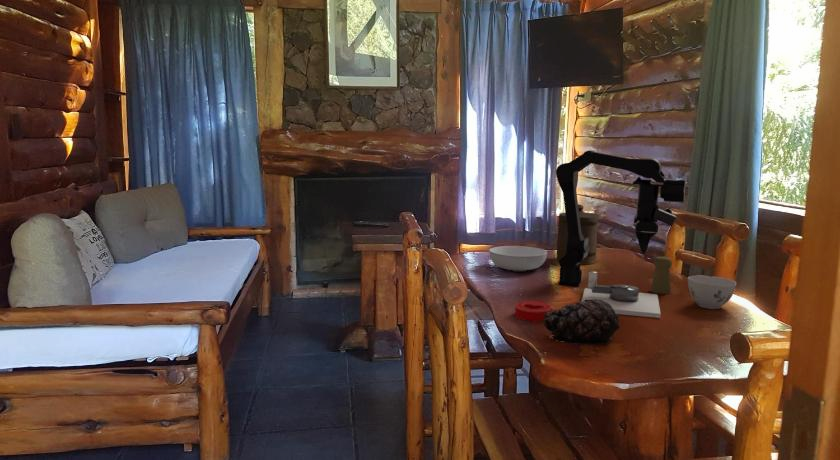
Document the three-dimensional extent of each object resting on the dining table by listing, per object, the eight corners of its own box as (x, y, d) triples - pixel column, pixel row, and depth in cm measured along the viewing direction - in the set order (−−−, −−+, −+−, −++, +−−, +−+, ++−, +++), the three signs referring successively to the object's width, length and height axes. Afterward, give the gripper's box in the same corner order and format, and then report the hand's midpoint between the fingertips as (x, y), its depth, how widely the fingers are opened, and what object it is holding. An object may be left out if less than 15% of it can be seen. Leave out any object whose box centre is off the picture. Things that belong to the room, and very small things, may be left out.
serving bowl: (554, 267, 223) (555, 249, 222) (533, 278, 206) (534, 258, 205) (503, 260, 234) (503, 243, 233) (478, 270, 217) (479, 251, 216)
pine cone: (538, 333, 150) (539, 293, 148) (609, 333, 150) (611, 294, 148) (547, 347, 139) (549, 305, 138) (624, 347, 140) (627, 306, 138)
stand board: (579, 310, 169) (580, 304, 169) (584, 291, 189) (585, 287, 188) (660, 318, 162) (660, 312, 162) (656, 298, 182) (657, 293, 182)
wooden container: (594, 258, 240) (597, 203, 237) (596, 266, 226) (599, 207, 222) (556, 256, 243) (558, 201, 240) (556, 263, 229) (558, 206, 226)
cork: (672, 294, 186) (675, 259, 185) (652, 293, 188) (654, 258, 186) (669, 289, 192) (671, 255, 190) (649, 288, 193) (651, 254, 192)
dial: (638, 295, 179) (639, 272, 178) (638, 302, 171) (640, 278, 170) (588, 291, 183) (589, 268, 182) (586, 298, 176) (588, 274, 175)
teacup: (743, 312, 168) (745, 284, 166) (699, 313, 167) (701, 285, 166) (714, 298, 183) (717, 272, 181) (674, 298, 182) (676, 272, 181)
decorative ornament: (519, 322, 158) (519, 311, 158) (511, 311, 168) (512, 300, 167) (555, 322, 159) (556, 310, 158) (546, 311, 168) (546, 300, 168)
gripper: (679, 205, 173) (673, 258, 176) (673, 198, 190) (668, 247, 193) (638, 202, 176) (633, 255, 179) (636, 196, 194) (631, 244, 196)
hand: (642, 250), depth 187 cm, fingers open, 9 cm apart
